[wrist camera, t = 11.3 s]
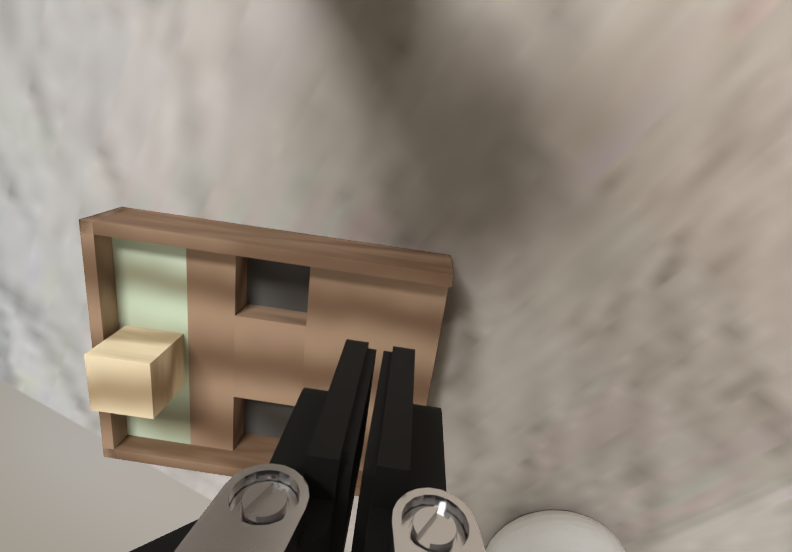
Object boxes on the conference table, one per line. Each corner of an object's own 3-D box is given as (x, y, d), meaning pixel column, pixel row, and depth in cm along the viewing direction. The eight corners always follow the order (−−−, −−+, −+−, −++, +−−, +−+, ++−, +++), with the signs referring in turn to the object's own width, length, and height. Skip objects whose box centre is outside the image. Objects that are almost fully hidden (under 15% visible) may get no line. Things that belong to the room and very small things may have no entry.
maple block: (126, 325, 38) (84, 354, 34) (183, 333, 38) (149, 363, 34) (130, 375, 40) (90, 410, 35) (185, 383, 40) (153, 419, 35)
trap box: (121, 206, 38) (78, 219, 33) (450, 255, 38) (454, 274, 33) (137, 421, 45) (103, 456, 41) (411, 463, 45) (410, 504, 40)
